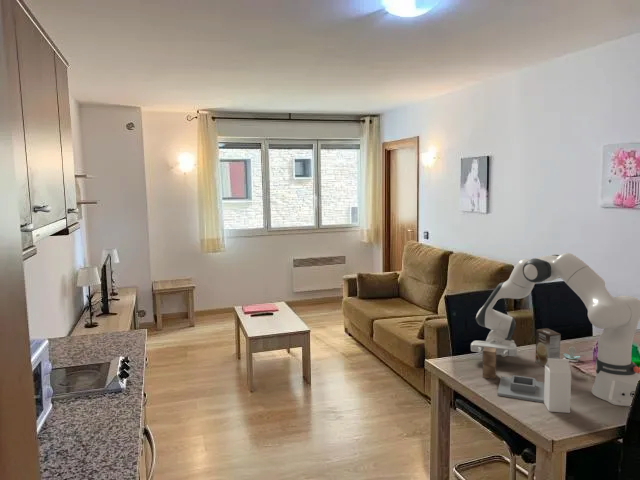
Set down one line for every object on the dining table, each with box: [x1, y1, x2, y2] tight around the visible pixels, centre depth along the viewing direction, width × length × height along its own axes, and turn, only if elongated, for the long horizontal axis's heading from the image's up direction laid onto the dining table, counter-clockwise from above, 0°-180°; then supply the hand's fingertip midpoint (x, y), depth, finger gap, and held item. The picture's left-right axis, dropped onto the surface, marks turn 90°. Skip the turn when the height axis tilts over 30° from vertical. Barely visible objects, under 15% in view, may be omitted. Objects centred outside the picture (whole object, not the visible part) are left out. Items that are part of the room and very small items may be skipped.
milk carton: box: [544, 358, 572, 414], centre depth 173 cm, size 7×7×19 cm
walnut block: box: [482, 347, 497, 380], centre depth 205 cm, size 5×5×12 cm
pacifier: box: [562, 346, 581, 363], centre depth 221 cm, size 7×6×6 cm
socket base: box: [497, 374, 545, 403], centre depth 190 cm, size 18×18×4 cm
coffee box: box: [534, 327, 562, 368], centre depth 215 cm, size 9×6×16 cm
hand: (491, 353), depth 212 cm, fingers open, 8 cm apart
